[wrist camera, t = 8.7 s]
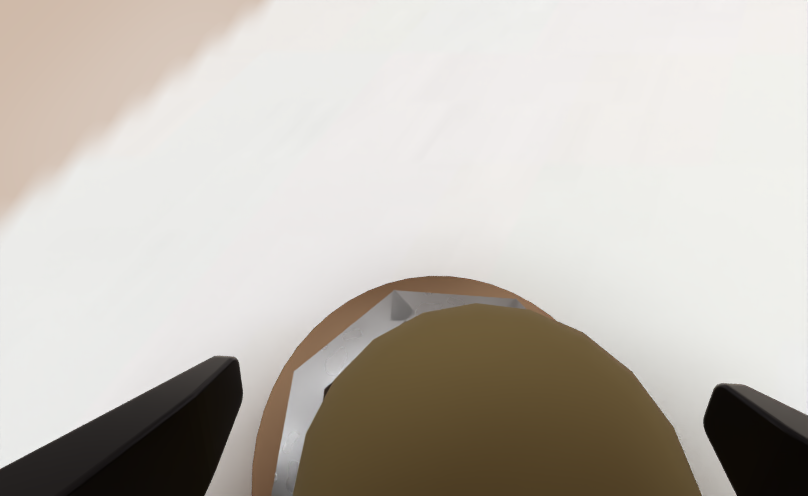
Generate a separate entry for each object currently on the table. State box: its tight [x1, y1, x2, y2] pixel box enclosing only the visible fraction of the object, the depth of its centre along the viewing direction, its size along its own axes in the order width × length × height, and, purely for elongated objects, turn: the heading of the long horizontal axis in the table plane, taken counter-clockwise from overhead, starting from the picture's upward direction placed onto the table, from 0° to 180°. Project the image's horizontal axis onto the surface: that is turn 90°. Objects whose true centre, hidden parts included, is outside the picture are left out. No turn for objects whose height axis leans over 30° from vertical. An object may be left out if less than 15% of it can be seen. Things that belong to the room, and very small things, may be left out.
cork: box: [293, 303, 702, 496], centre depth 9 cm, size 6×6×11 cm
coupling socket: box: [252, 276, 556, 496], centre depth 13 cm, size 13×13×4 cm
